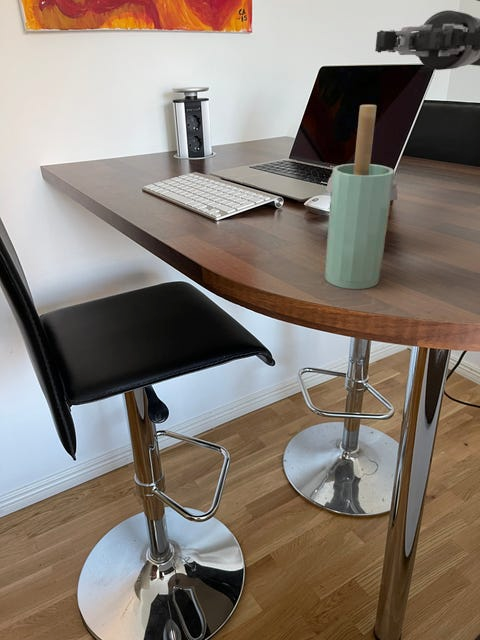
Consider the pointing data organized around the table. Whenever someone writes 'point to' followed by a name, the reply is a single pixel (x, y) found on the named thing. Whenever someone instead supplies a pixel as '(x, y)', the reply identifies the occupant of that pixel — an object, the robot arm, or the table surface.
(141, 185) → the table surface
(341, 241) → the mint green pencil cup
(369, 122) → the brush
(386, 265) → the table surface
